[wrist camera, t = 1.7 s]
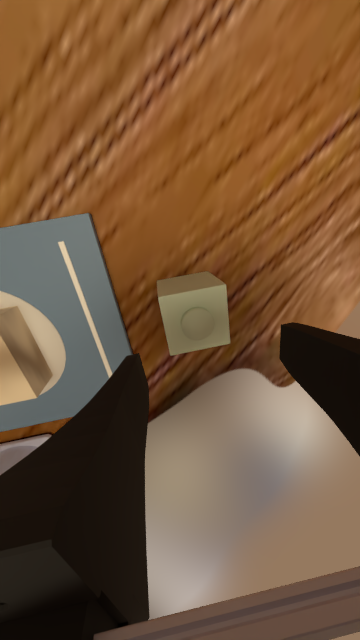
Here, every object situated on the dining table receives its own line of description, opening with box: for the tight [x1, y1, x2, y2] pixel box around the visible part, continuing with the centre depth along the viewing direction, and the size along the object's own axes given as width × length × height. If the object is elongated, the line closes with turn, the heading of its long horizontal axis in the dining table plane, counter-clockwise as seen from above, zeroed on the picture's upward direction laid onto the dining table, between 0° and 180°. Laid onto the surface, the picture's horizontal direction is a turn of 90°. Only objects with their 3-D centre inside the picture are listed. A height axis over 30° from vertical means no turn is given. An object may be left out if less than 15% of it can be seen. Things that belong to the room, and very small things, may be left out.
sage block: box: [157, 271, 230, 356], centre depth 16 cm, size 4×4×6 cm
